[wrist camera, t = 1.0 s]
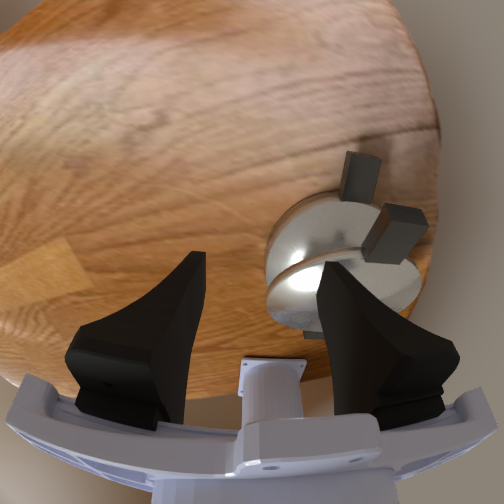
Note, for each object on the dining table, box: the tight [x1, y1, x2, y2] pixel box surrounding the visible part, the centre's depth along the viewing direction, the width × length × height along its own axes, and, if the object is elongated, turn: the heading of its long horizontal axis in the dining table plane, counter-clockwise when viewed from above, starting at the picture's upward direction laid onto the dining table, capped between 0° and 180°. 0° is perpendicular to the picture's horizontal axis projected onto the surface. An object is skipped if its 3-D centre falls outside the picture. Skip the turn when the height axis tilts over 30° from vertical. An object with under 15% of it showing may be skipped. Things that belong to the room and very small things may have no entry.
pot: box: [265, 151, 381, 339], centre depth 22 cm, size 17×12×3 cm
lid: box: [266, 203, 429, 332], centre depth 18 cm, size 16×12×2 cm
